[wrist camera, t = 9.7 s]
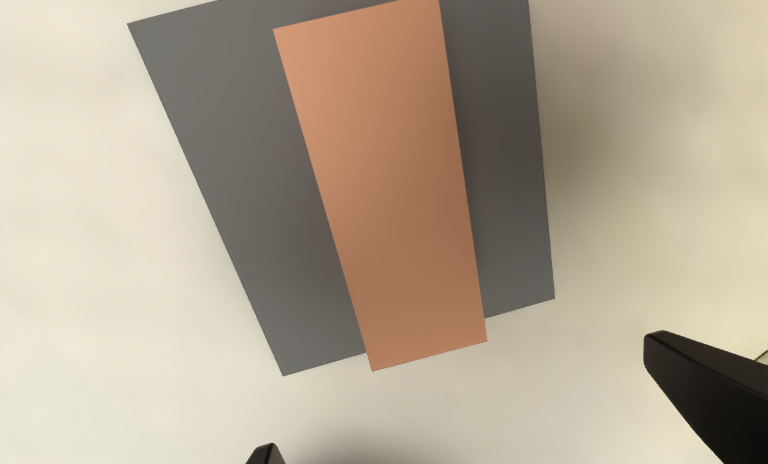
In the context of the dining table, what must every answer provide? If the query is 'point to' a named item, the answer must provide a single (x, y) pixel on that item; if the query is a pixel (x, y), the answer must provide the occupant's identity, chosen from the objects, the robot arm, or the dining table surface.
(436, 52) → the terracotta block
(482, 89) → the charcoal mat
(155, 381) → the dining table surface
